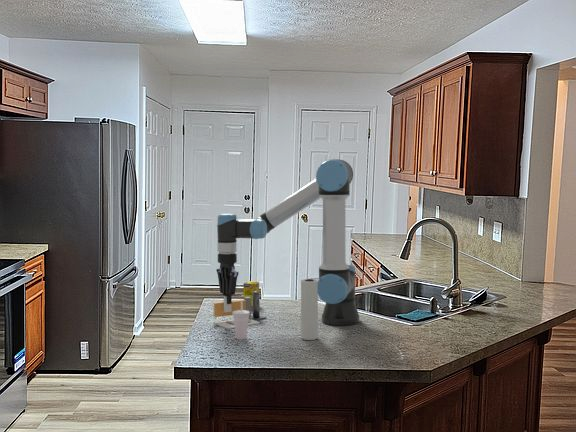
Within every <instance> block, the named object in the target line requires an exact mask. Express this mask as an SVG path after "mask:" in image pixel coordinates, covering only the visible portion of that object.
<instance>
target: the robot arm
mask: <svg viewBox="0 0 576 432" xmlns="http://www.w3.org/2000/svg"><path fill="white" fill-rule="evenodd" d="M315 174H316V175H315V178H314V180H312V181H311V182H309V183H308V184H306V185H304V186H303V187H301V188H300V189H299V190H296V192H294V193H293V194H291V195H289V196H288V197H286V198H284V199H283V200H282V201H280V202H278V203H277V204H276V205H274V206H272V207H270V209H268V210H266V211H265V212H263V213H262V214H260V215H258V216H256V217H252V218H250V219H249V218H245V219H244V218H243V219H240V218H238V217H237V214H235V213H220V214H218V216H217V225H216V227H217V233H216V234H217V263H219V264H220V265H219V267H218V268H216V273H217V279H218V285H219V292H220V294H222V296H223V302H224V312H231V303H232V301H233V300H232V296H234V295H236V290H237V289H236V288H237V281H238V276H239V271H236V268H235V263H237V262H238V259H237V258H238V257H237V256H238V255H237V251H238V250H237V245H238V244H237V242H238V241H237V239H254V240H258V239H260V240H261V239H265V238H266V236H267V234H268V233H270V232H271V231H272V230H274V229H275V228H277V227H278V226H280V225H281V224H283V223H284V222H286V221H287V220H289V219H291V218H292V217H294V216H295V215H297V214H299V213H300V212H302V211H304V209H306V208H308V207H310V206H311V205H313V204H314V203H315V202H317V201H319V200H320V199H321V200H322V263H321V264H320V265H319V266H318V279H317V281H318V297H319V298H320V299H321V301H323V302H324V303H325V305H324V308H323V311H322V314H321V322H322V323H323V324H325V325H333V326H351V325H352V326H353V325H356V324H359V322H360V313H359V311H358V308H357V304H356V273H357V272H356V267H355V266H354V265H352V264H348V263H346V200H347V199H348V198H349V197H350V193H351V192H350V189H351V188H350V185H351V183H352V181H353V178H354V171H353V168H352V166H351V164H350V163H348V162H347V161H345V160H343V159H336V158H332V159H331V158H330V159H327V160H325V161H324V162H322V163H320V165H319V166H318V168H317V171H316V173H315Z"/></svg>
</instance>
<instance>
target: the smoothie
mask: <svg viewBox="0 0 576 432" xmlns="http://www.w3.org/2000/svg"><path fill="white" fill-rule="evenodd" d="M240 300H241V310H237V311H233V312H232V315H231V316H232V317H233V322H234V325H235V328H234V330H235V331H234V332H235V338H236V340H246V339H247V337H248V327H249V326H248V320H249V315H250V312H249V311H246V310H242V300H243V299H240Z"/></svg>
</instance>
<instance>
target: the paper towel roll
mask: <svg viewBox="0 0 576 432" xmlns="http://www.w3.org/2000/svg"><path fill="white" fill-rule="evenodd" d="M318 297H319V296H318V279H313V278H307V279H301V280H300V337H301V338H300V339H302V340H306V341H314V340H318V335H319V334H318V333H319V329H318V327H319V326H318V322H319V321H318V320H319V319H318V318H319V317H318V316H319V313H318V312H319V310H318V309H319V308H318V307H319V304H318V303H319V302H318V299H319V298H318Z"/></svg>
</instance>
